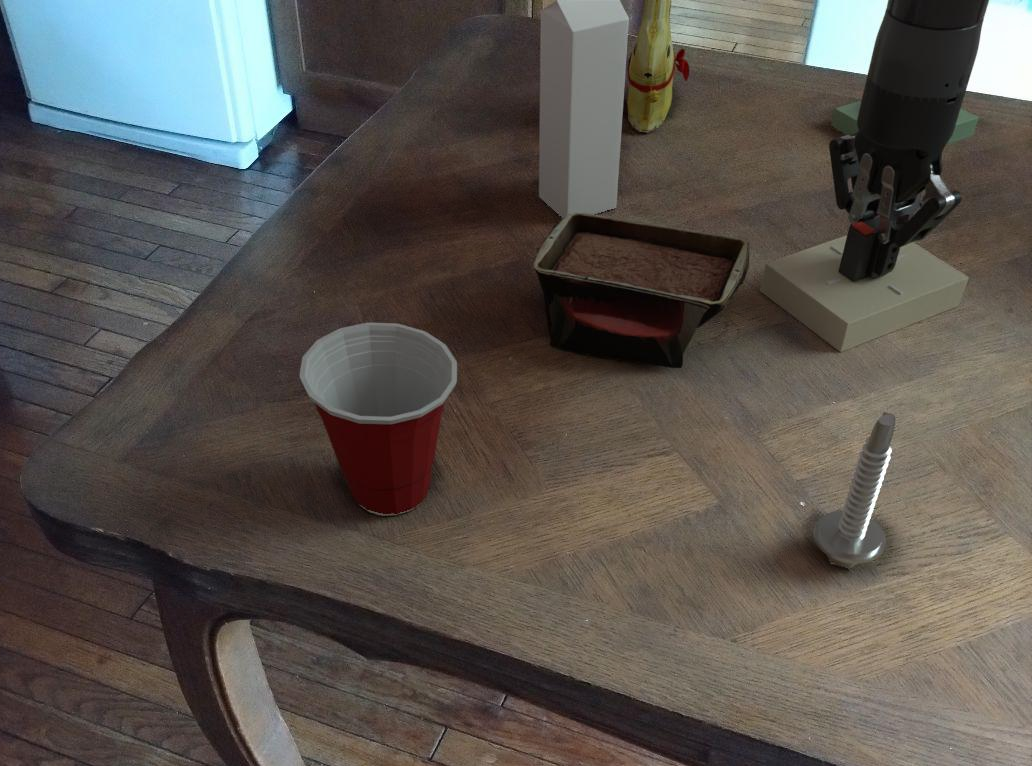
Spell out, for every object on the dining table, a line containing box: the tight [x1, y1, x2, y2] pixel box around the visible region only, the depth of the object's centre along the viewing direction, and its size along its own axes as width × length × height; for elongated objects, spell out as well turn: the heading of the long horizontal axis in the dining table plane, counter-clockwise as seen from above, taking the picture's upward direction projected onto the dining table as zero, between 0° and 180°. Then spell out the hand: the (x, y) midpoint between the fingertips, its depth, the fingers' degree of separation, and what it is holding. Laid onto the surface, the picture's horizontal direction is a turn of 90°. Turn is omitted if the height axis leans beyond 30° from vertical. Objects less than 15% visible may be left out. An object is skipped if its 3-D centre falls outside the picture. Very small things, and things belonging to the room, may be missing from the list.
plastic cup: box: [299, 322, 458, 514], centre depth 77 cm, size 11×11×12 cm
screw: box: [812, 411, 896, 570], centre depth 71 cm, size 13×5×5 cm
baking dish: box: [532, 213, 751, 369], centre depth 92 cm, size 14×18×10 cm
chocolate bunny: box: [626, 0, 690, 131], centre depth 118 cm, size 7×11×15 cm, turn 168°
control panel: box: [760, 234, 970, 353], centre depth 96 cm, size 14×11×3 cm
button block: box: [830, 99, 980, 146], centre depth 119 cm, size 12×10×4 cm
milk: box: [538, 0, 630, 219], centre depth 102 cm, size 6×6×22 cm
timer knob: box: [838, 215, 897, 282], centre depth 93 cm, size 5×2×5 cm, turn 118°
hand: (867, 267), depth 95 cm, fingers closed, pressing on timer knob
